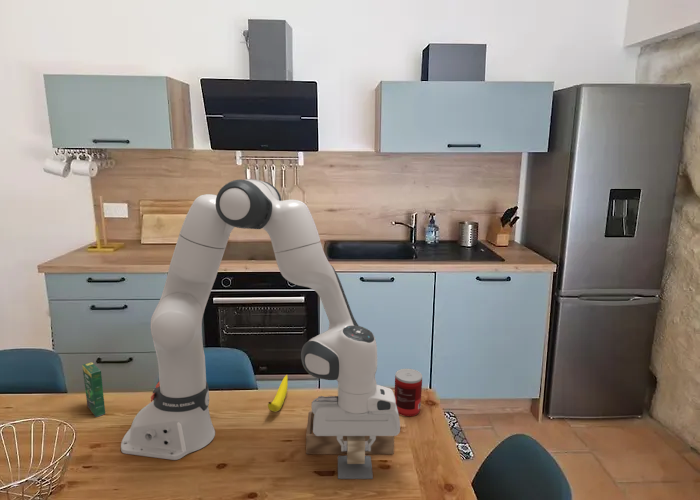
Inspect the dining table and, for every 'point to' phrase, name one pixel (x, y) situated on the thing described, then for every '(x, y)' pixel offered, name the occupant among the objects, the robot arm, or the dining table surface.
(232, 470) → the dining table surface
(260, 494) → the dining table surface
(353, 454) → the block
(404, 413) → the canned food
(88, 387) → the coffee box
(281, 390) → the banana
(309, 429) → the crate
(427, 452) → the dining table surface
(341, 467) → the mat
